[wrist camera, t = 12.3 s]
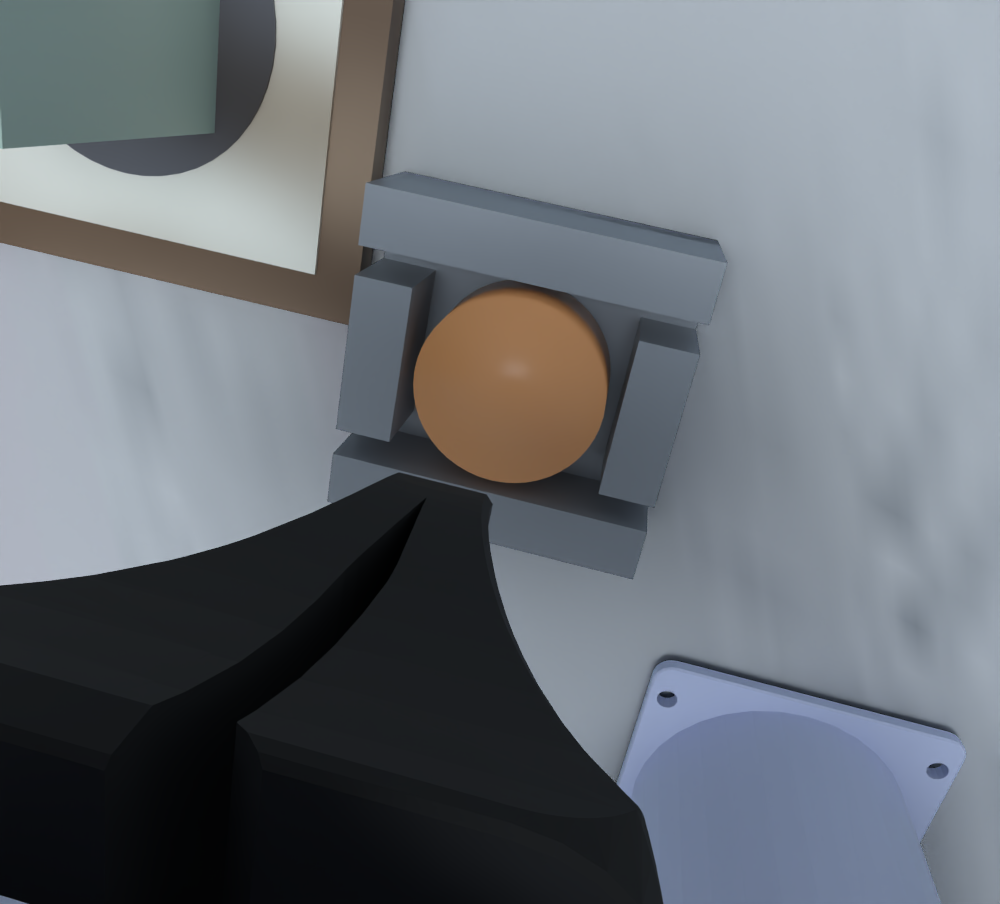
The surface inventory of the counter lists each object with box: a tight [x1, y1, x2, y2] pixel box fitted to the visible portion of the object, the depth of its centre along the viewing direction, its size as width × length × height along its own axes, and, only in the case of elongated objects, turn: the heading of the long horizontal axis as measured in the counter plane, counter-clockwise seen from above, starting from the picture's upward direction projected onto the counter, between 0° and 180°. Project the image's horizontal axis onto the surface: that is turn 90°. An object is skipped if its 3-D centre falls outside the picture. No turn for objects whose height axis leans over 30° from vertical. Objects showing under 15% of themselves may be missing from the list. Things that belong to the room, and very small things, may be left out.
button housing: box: [327, 172, 727, 579], centre depth 19 cm, size 7×7×3 cm
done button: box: [413, 280, 611, 483], centre depth 18 cm, size 4×4×2 cm
